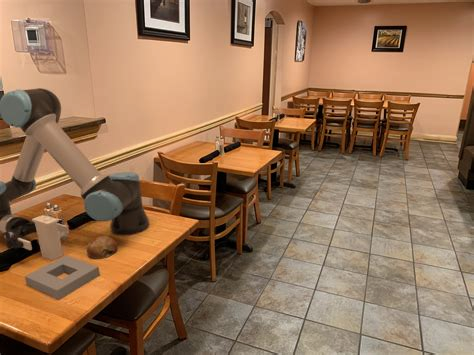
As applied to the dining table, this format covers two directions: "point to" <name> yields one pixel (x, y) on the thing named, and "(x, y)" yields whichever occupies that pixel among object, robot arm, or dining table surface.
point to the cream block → (48, 237)
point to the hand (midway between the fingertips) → (49, 237)
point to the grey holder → (59, 288)
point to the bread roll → (101, 247)
